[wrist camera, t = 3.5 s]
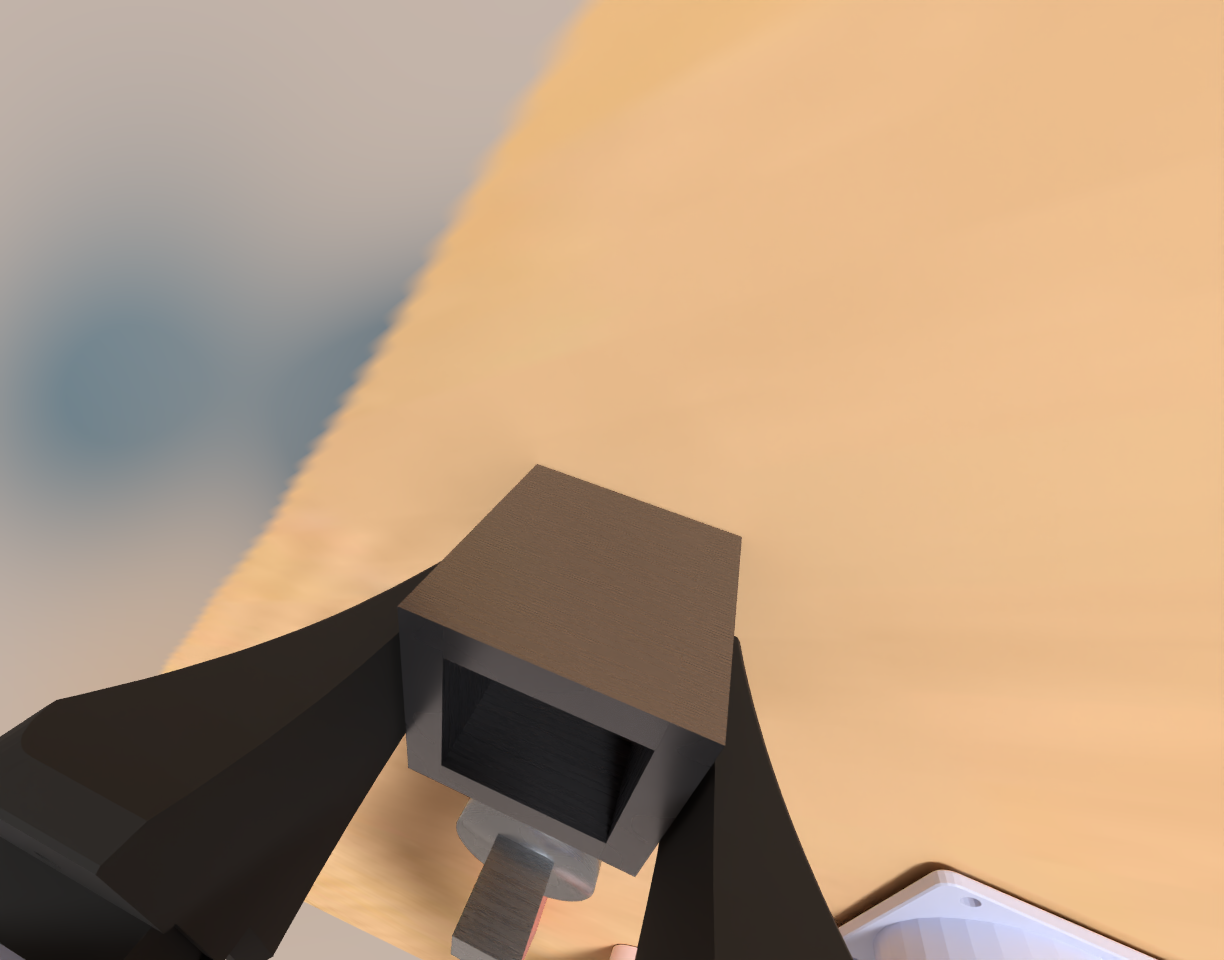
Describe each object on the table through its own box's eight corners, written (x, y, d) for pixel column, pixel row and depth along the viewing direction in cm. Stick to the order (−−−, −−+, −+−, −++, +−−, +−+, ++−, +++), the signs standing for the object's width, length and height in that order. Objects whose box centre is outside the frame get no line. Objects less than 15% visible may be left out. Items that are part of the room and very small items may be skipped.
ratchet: (557, 931, 27) (517, 1064, 23) (470, 886, 28) (416, 1005, 24) (625, 799, 18) (578, 986, 13) (489, 736, 18) (402, 892, 14)
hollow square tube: (742, 537, 10) (724, 746, 6) (676, 670, 13) (635, 877, 9) (536, 464, 11) (397, 606, 7) (516, 604, 14) (408, 767, 10)
